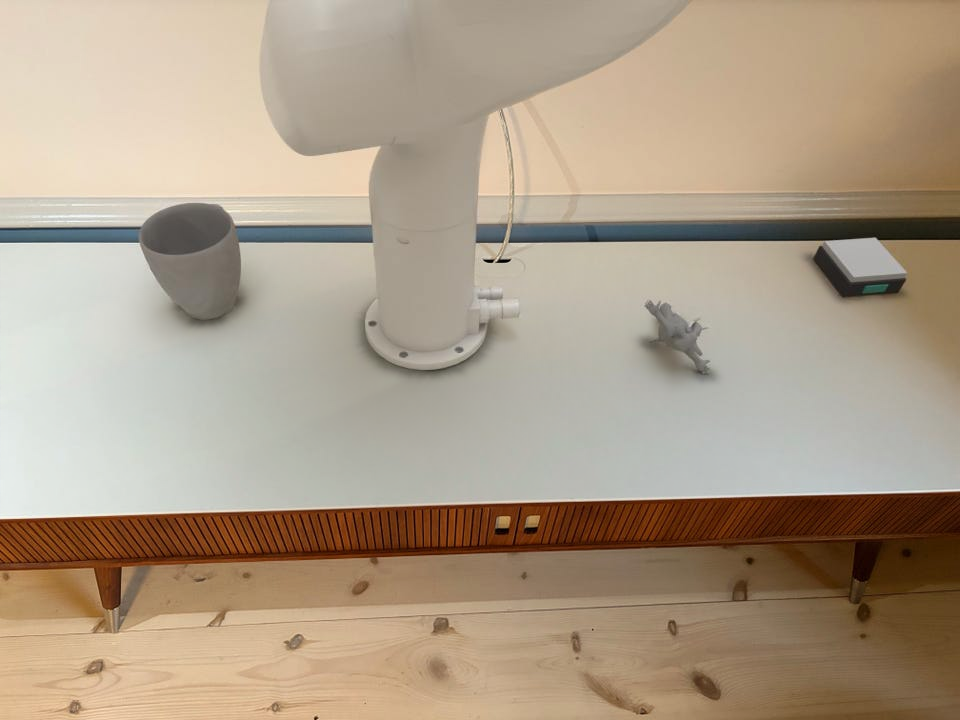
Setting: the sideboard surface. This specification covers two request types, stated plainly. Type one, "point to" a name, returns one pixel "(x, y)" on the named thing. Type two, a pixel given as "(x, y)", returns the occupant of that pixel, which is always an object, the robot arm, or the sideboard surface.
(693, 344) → the grey creature figurine
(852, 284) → the scale
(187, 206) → the mug
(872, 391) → the sideboard surface
